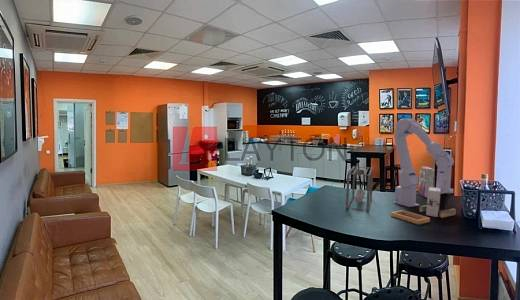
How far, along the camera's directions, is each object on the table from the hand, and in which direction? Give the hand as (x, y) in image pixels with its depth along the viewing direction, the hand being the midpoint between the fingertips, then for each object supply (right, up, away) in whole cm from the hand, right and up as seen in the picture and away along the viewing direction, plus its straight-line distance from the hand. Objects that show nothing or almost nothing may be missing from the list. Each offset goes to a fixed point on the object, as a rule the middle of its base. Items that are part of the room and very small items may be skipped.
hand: (441, 209), depth 148 cm
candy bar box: (+10, +1, +34) cm, 35 cm away
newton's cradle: (-35, 0, +13) cm, 37 cm away
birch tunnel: (-3, -2, -2) cm, 4 cm away
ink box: (-6, -2, -4) cm, 7 cm away
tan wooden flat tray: (-21, -2, -12) cm, 24 cm away
